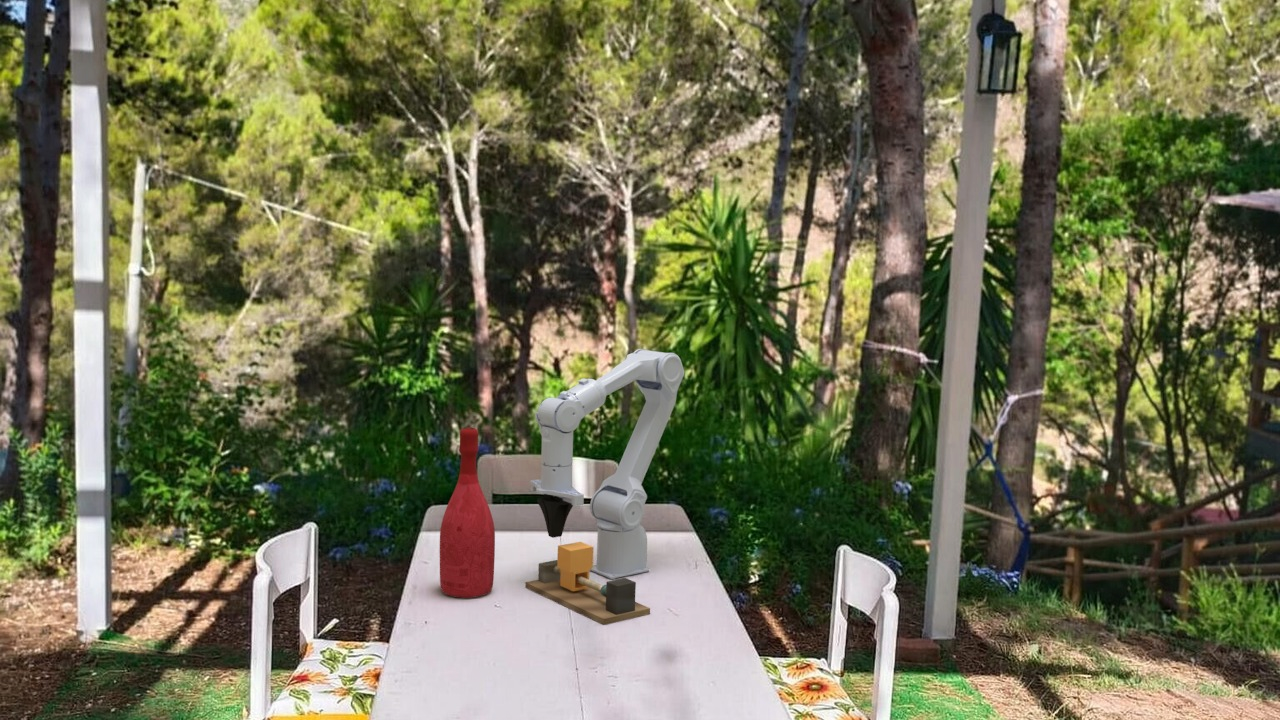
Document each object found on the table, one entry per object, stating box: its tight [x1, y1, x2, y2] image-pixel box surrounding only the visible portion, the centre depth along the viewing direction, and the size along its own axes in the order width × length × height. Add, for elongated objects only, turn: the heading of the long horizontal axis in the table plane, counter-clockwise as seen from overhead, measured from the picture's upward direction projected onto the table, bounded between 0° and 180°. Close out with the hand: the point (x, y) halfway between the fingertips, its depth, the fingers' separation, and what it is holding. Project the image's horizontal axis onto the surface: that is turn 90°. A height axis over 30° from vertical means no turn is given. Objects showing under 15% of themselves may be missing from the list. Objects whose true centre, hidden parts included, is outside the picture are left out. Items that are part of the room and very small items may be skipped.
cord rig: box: [525, 559, 651, 626], centre depth 199 cm, size 24×10×6 cm, turn 39°
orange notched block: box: [557, 541, 594, 591], centre depth 202 cm, size 4×5×8 cm
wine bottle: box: [439, 427, 496, 599], centre depth 201 cm, size 10×10×30 cm
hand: (555, 536), depth 206 cm, fingers closed
